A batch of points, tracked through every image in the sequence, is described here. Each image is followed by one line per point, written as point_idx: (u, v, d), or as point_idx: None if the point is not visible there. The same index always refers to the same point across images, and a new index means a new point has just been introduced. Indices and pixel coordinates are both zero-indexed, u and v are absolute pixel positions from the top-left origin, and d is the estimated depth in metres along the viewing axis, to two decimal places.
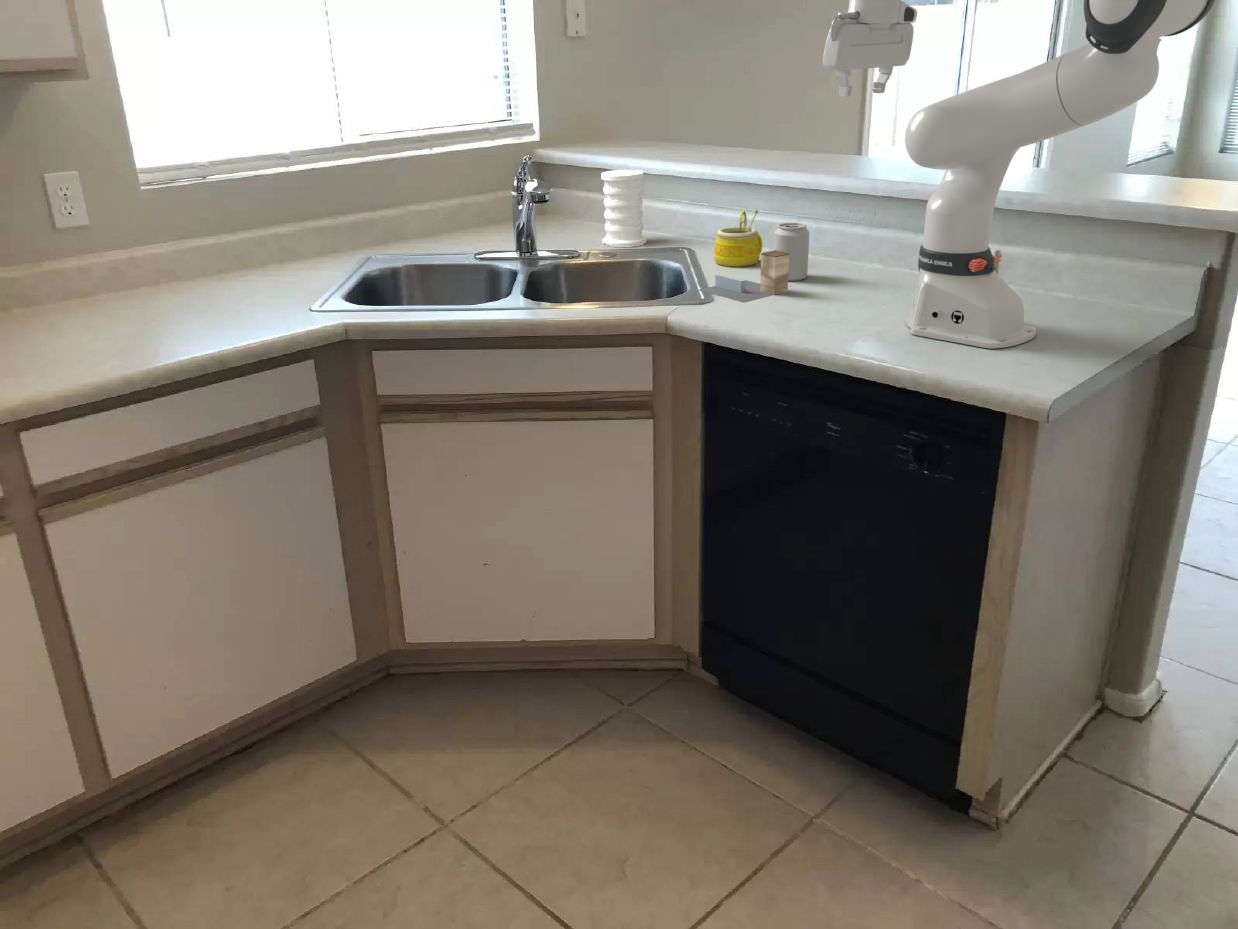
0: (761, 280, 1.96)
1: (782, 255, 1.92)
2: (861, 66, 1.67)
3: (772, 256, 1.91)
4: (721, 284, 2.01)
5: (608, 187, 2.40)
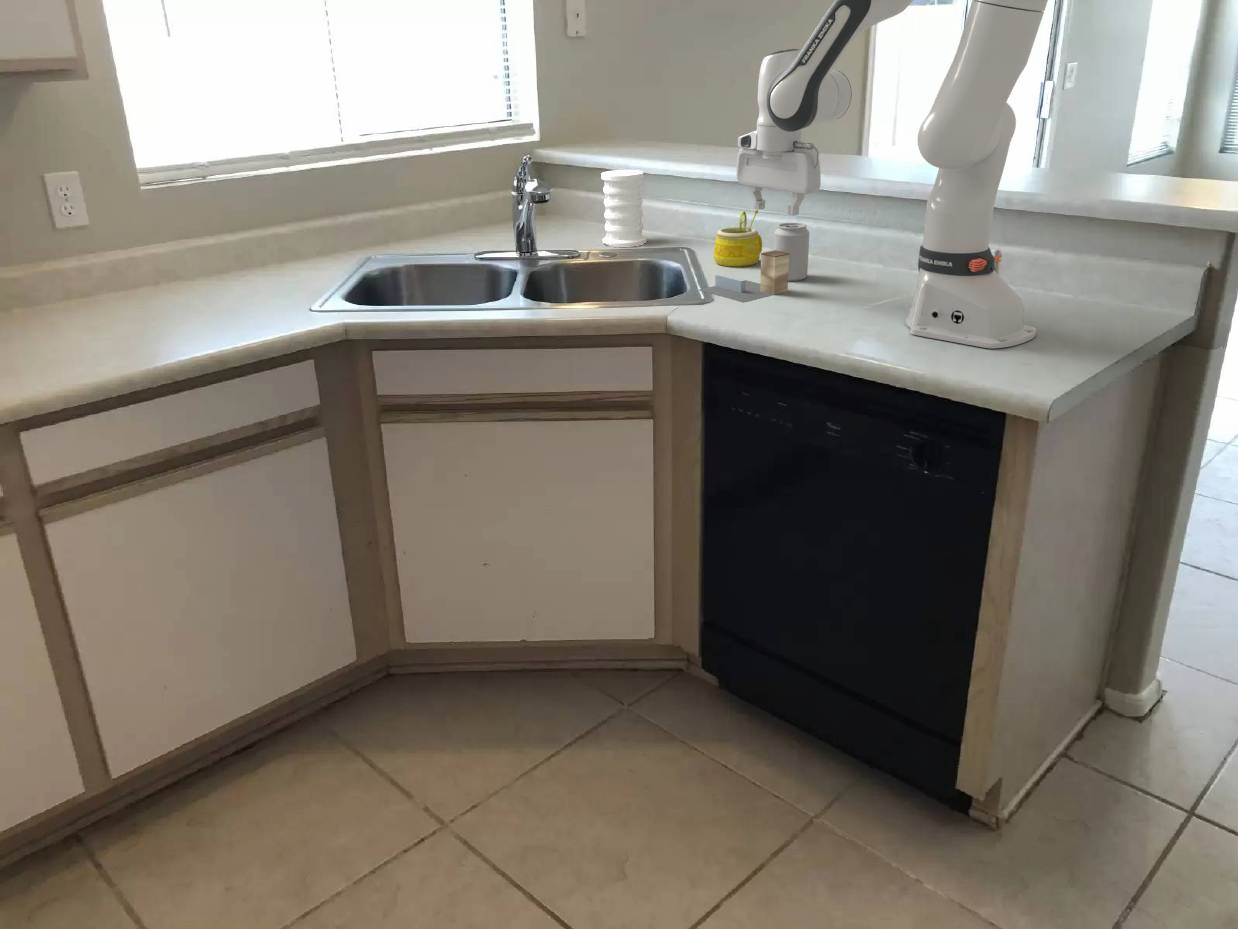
0: (761, 280, 1.96)
1: (782, 255, 1.92)
2: None
3: (772, 256, 1.91)
4: (721, 284, 2.01)
5: (608, 187, 2.40)
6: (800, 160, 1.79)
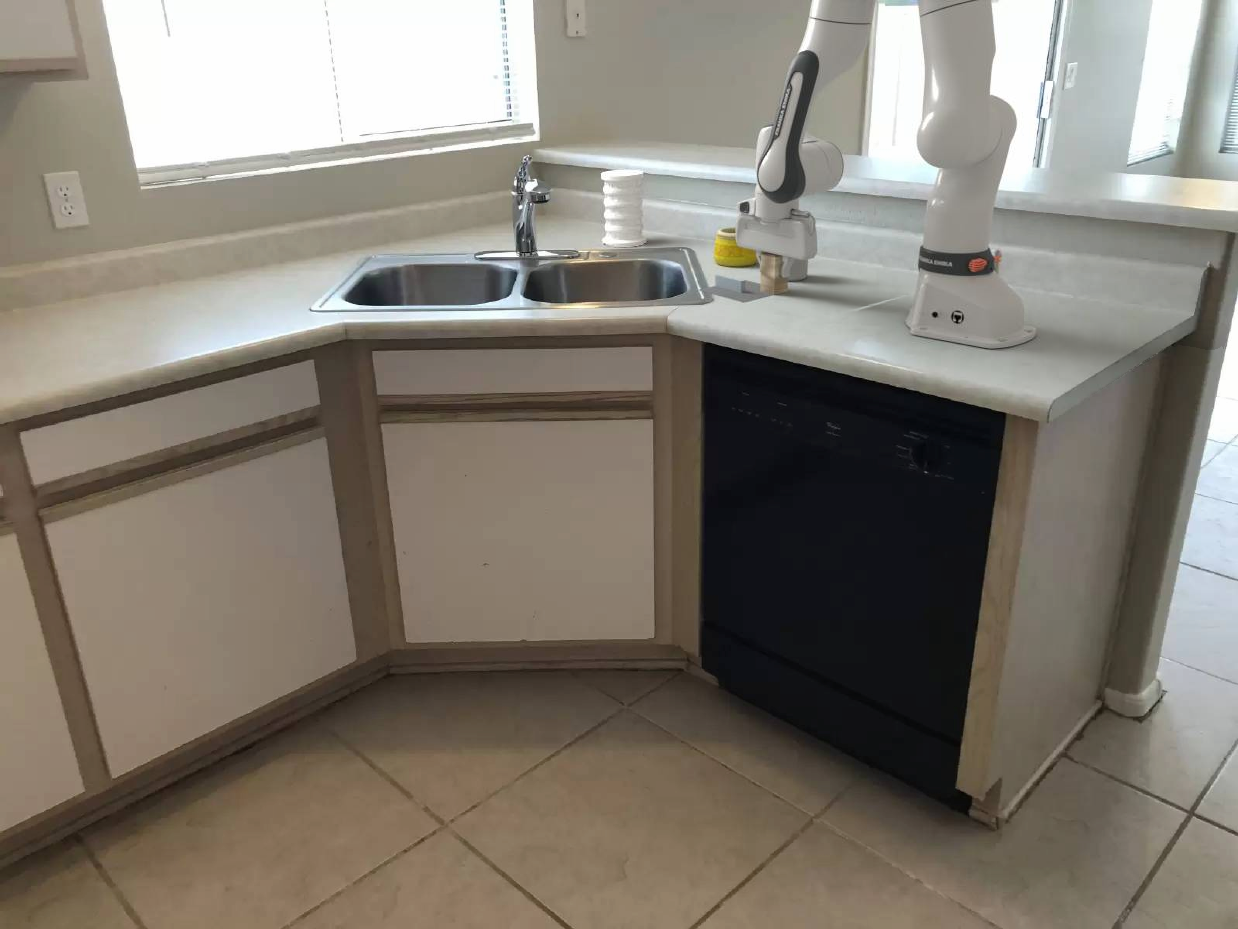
0: (761, 280, 1.96)
1: None
2: None
3: (772, 256, 1.91)
4: (721, 284, 2.01)
5: (608, 187, 2.40)
6: (797, 228, 1.84)
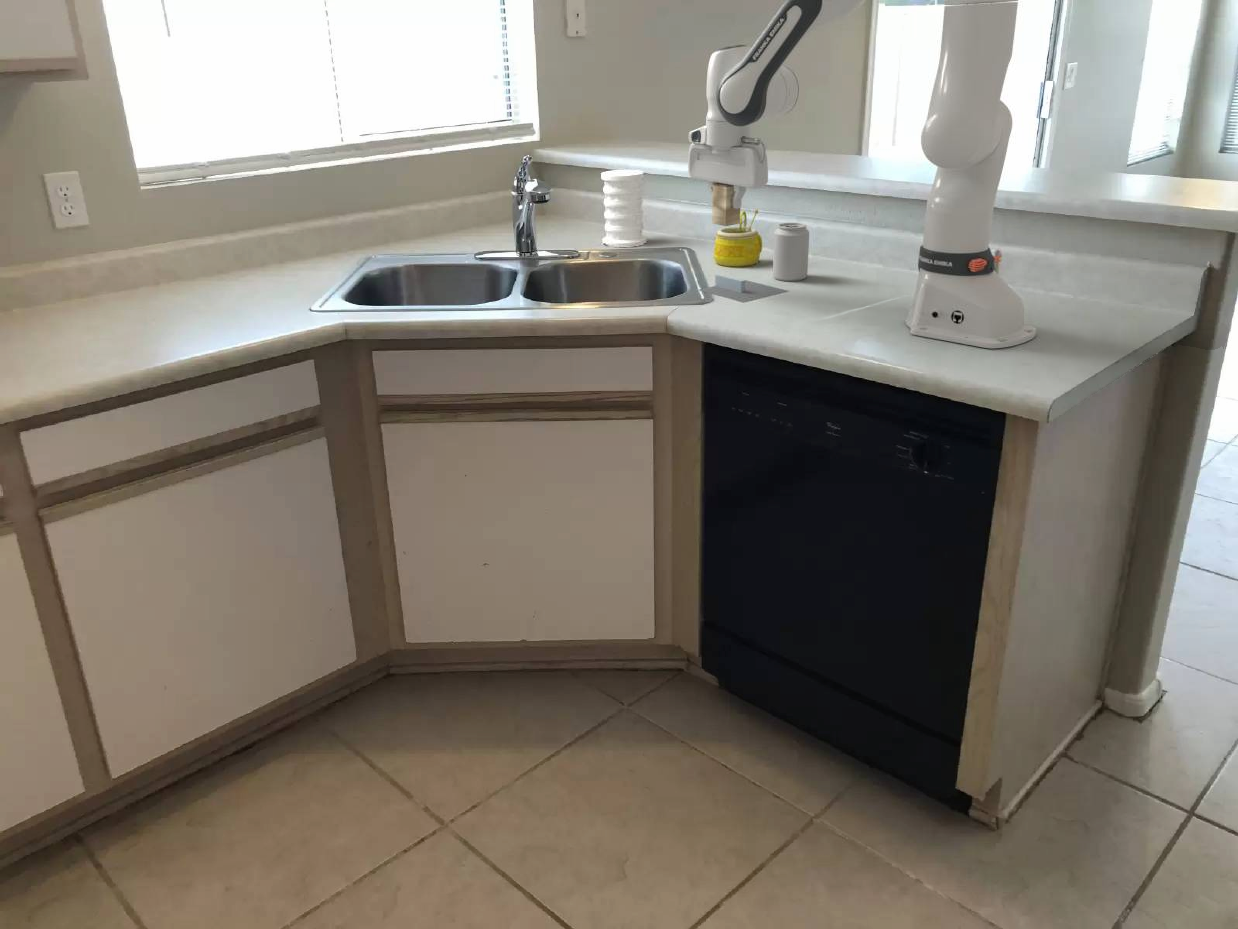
0: (713, 212, 1.93)
1: None
2: None
3: (723, 186, 1.88)
4: (721, 284, 2.01)
5: (608, 187, 2.40)
6: (747, 155, 1.81)
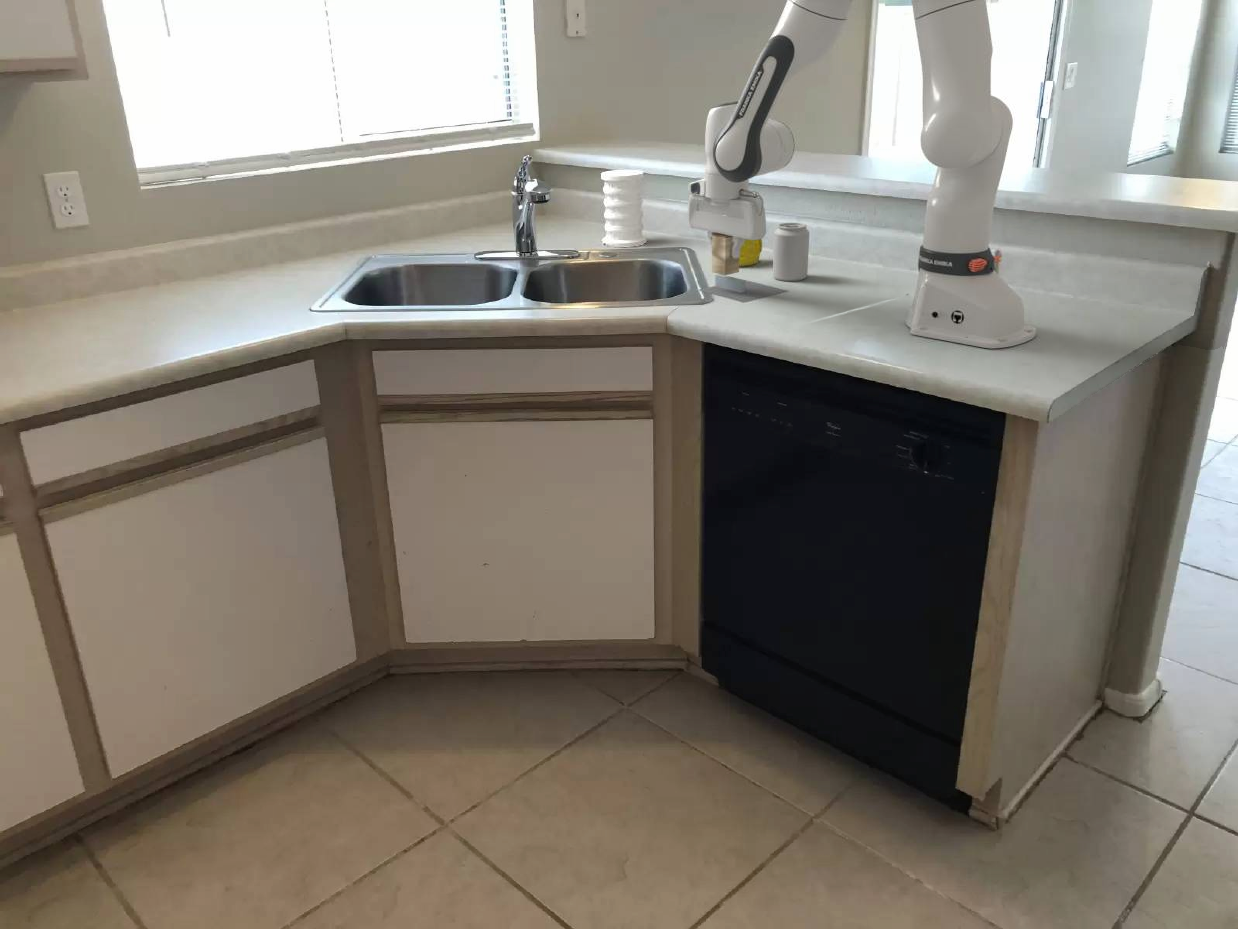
0: (713, 261, 1.97)
1: None
2: None
3: (722, 237, 1.92)
4: (721, 284, 2.01)
5: (608, 187, 2.40)
6: (746, 208, 1.85)
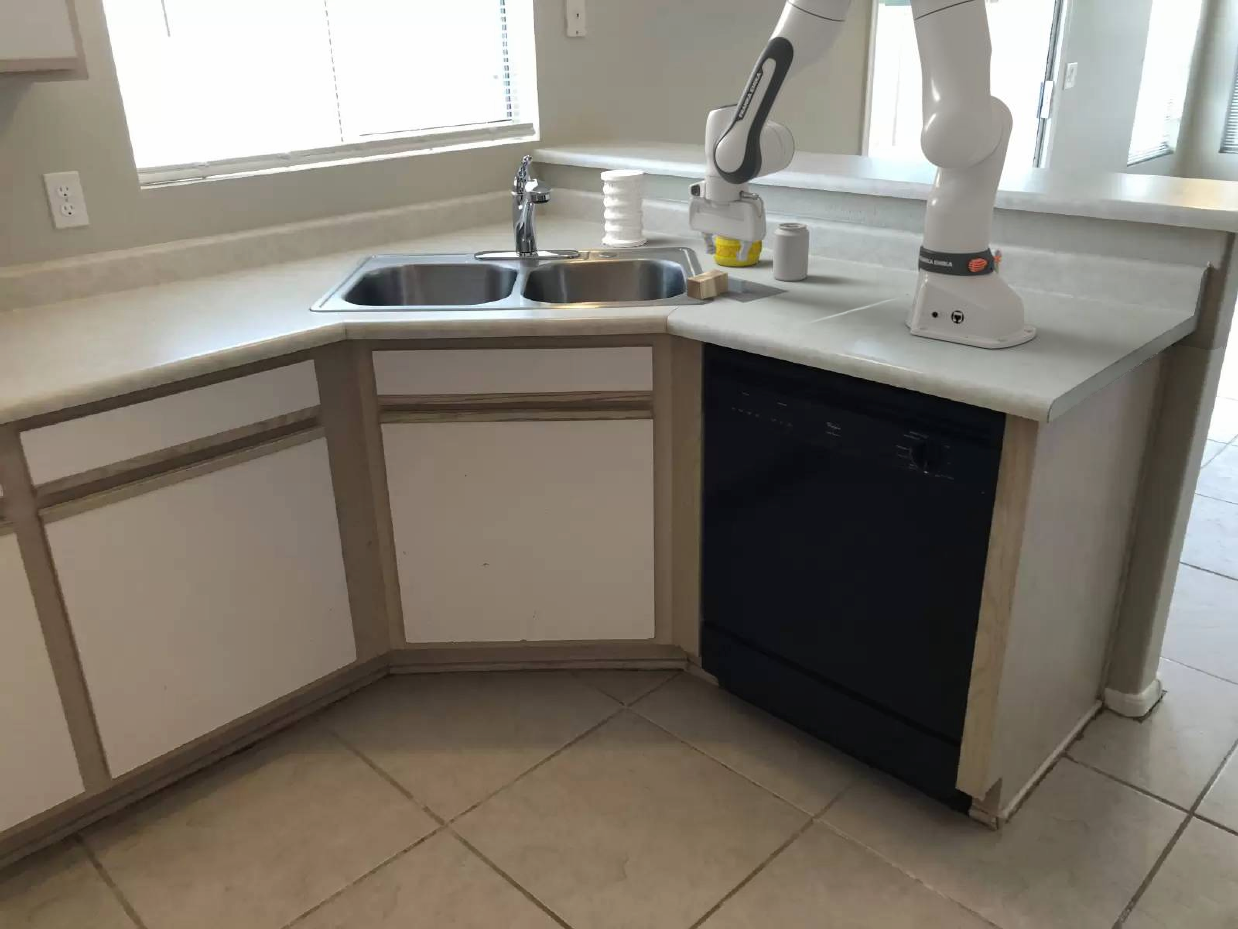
0: None
1: (700, 290, 1.92)
2: None
3: None
4: None
5: (608, 187, 2.40)
6: (746, 209, 1.85)
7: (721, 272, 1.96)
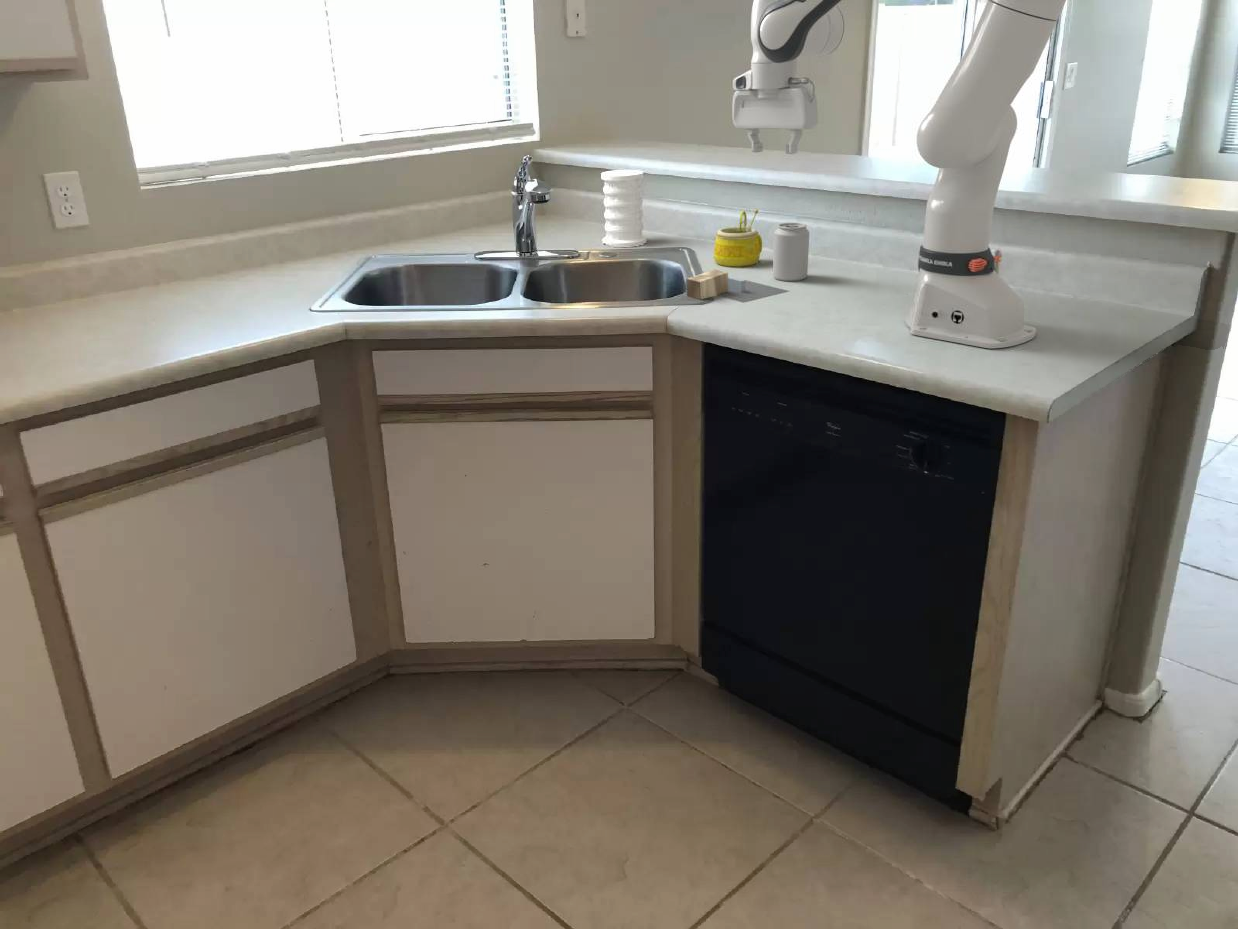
0: None
1: (700, 290, 1.92)
2: None
3: None
4: None
5: (608, 187, 2.40)
6: (796, 95, 1.78)
7: (721, 272, 1.96)
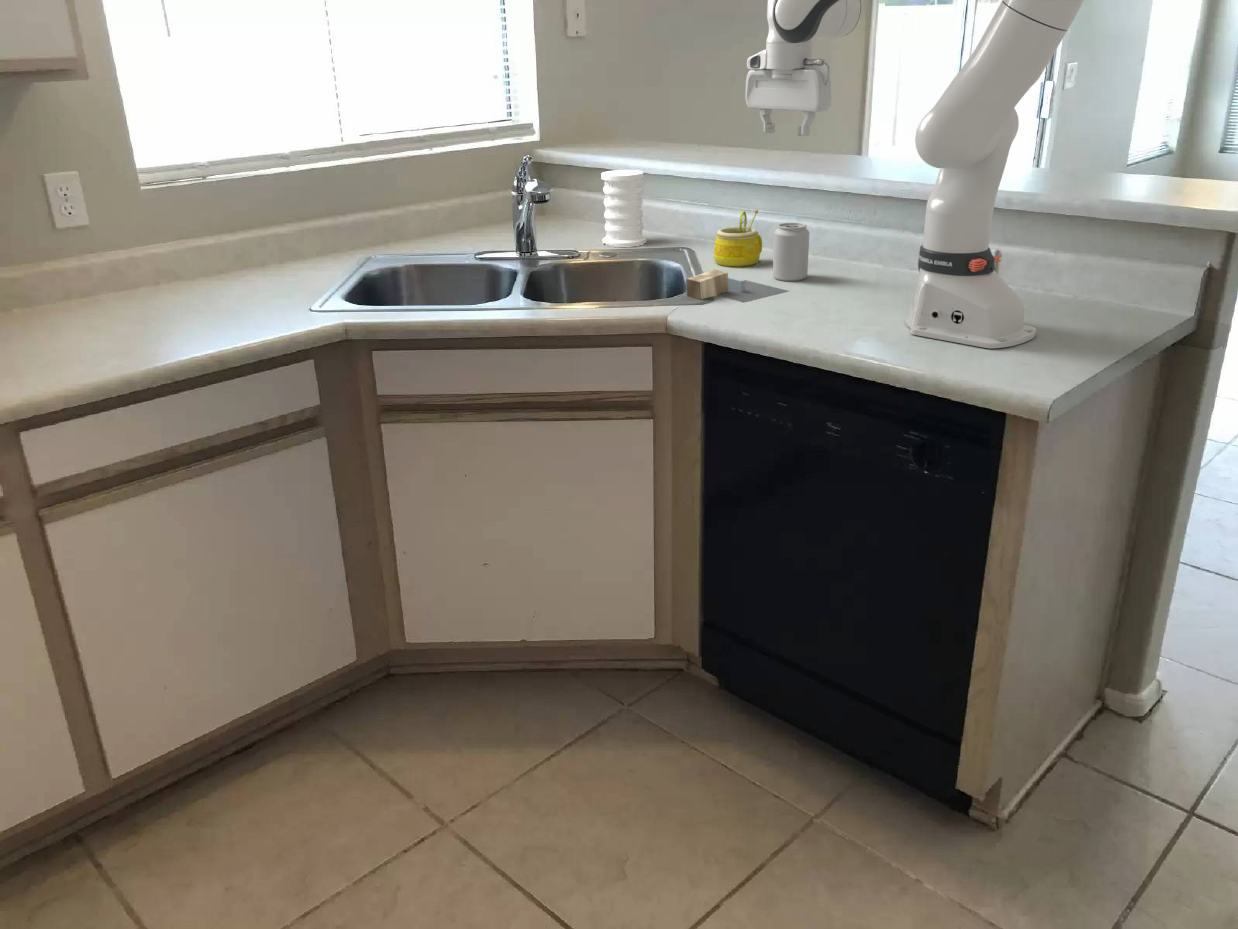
0: None
1: (700, 290, 1.92)
2: None
3: None
4: None
5: (608, 187, 2.40)
6: (810, 76, 1.76)
7: (721, 272, 1.96)
